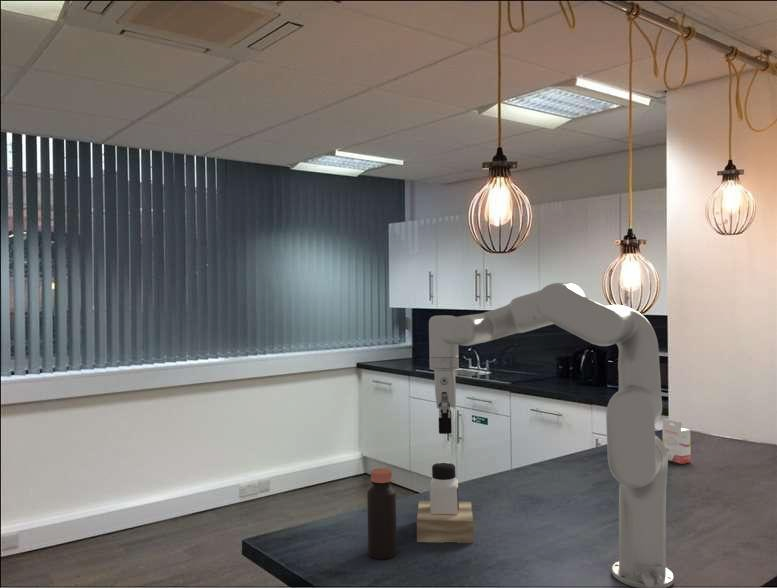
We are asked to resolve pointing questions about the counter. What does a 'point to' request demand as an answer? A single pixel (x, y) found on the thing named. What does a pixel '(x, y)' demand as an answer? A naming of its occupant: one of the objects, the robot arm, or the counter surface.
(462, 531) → the birch block
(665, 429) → the ink cartridge box
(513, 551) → the counter surface
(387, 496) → the vinegar
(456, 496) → the medicine bottle
